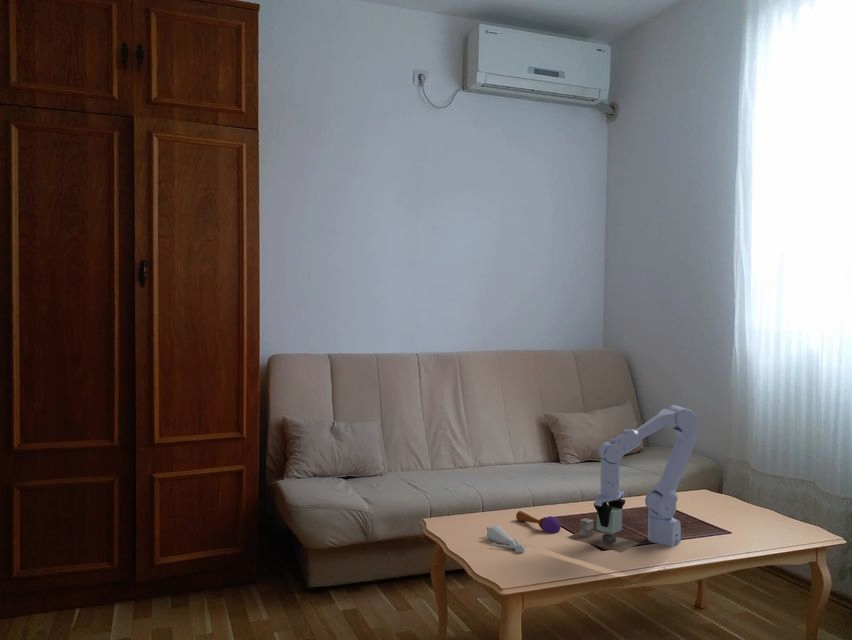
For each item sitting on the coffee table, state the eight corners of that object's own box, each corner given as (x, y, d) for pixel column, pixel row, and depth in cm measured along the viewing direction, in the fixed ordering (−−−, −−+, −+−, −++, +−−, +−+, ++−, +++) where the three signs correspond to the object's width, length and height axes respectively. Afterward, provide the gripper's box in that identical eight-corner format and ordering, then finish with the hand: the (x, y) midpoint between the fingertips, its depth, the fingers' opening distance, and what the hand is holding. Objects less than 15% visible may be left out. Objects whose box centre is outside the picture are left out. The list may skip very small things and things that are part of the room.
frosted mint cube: (621, 529, 220) (622, 509, 220) (612, 533, 216) (613, 512, 216) (606, 525, 224) (606, 505, 224) (596, 529, 220) (597, 509, 220)
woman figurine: (505, 520, 231) (538, 540, 215) (504, 533, 231) (538, 554, 216) (475, 525, 226) (507, 546, 210) (474, 538, 226) (506, 560, 210)
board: (640, 546, 220) (640, 527, 219) (621, 556, 211) (621, 535, 211) (587, 532, 233) (587, 513, 233) (567, 540, 224) (567, 521, 224)
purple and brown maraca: (527, 507, 248) (565, 518, 230) (525, 524, 247) (563, 537, 229) (514, 506, 245) (551, 517, 227) (511, 524, 244) (548, 536, 227)
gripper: (610, 474, 228) (609, 516, 228) (586, 482, 218) (585, 526, 218) (630, 478, 223) (629, 521, 223) (606, 487, 213) (606, 531, 213)
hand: (609, 524), depth 220 cm, fingers closed on frosted mint cube, 6 cm apart
